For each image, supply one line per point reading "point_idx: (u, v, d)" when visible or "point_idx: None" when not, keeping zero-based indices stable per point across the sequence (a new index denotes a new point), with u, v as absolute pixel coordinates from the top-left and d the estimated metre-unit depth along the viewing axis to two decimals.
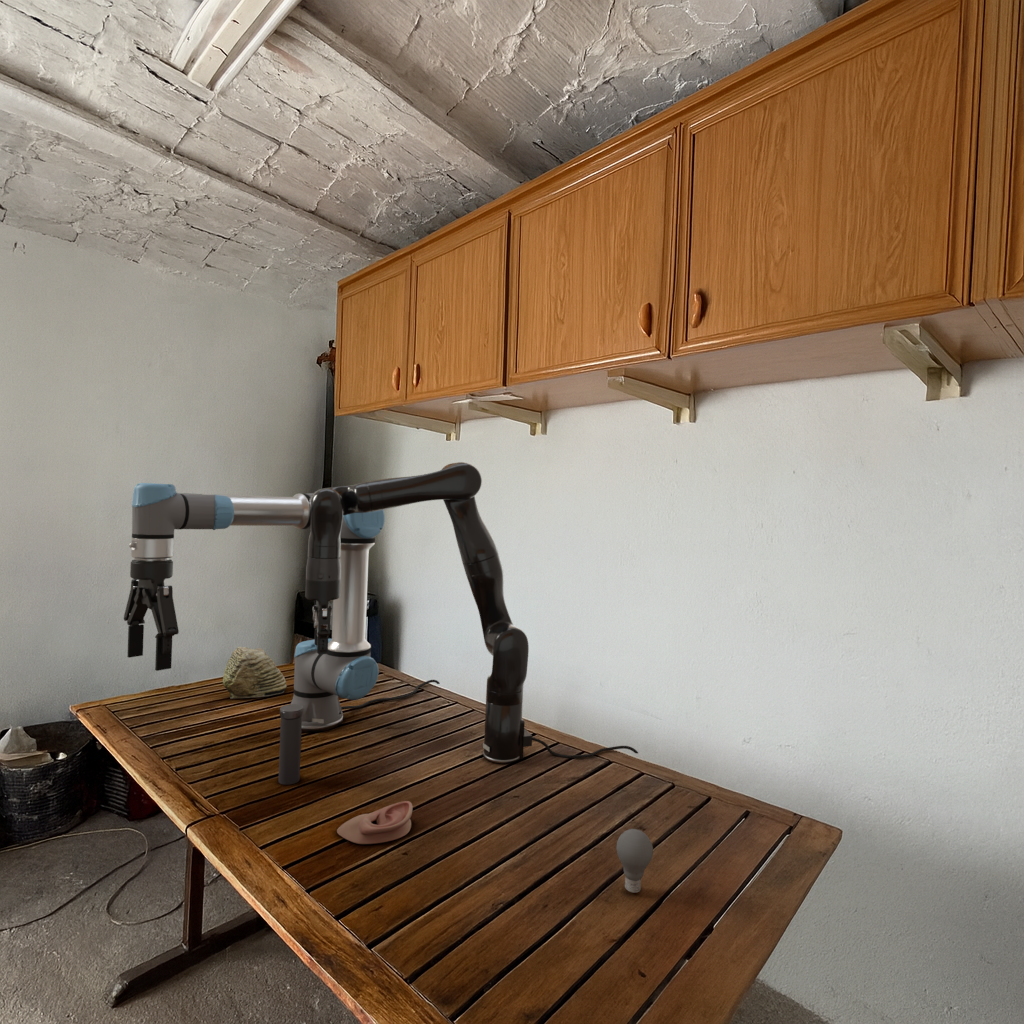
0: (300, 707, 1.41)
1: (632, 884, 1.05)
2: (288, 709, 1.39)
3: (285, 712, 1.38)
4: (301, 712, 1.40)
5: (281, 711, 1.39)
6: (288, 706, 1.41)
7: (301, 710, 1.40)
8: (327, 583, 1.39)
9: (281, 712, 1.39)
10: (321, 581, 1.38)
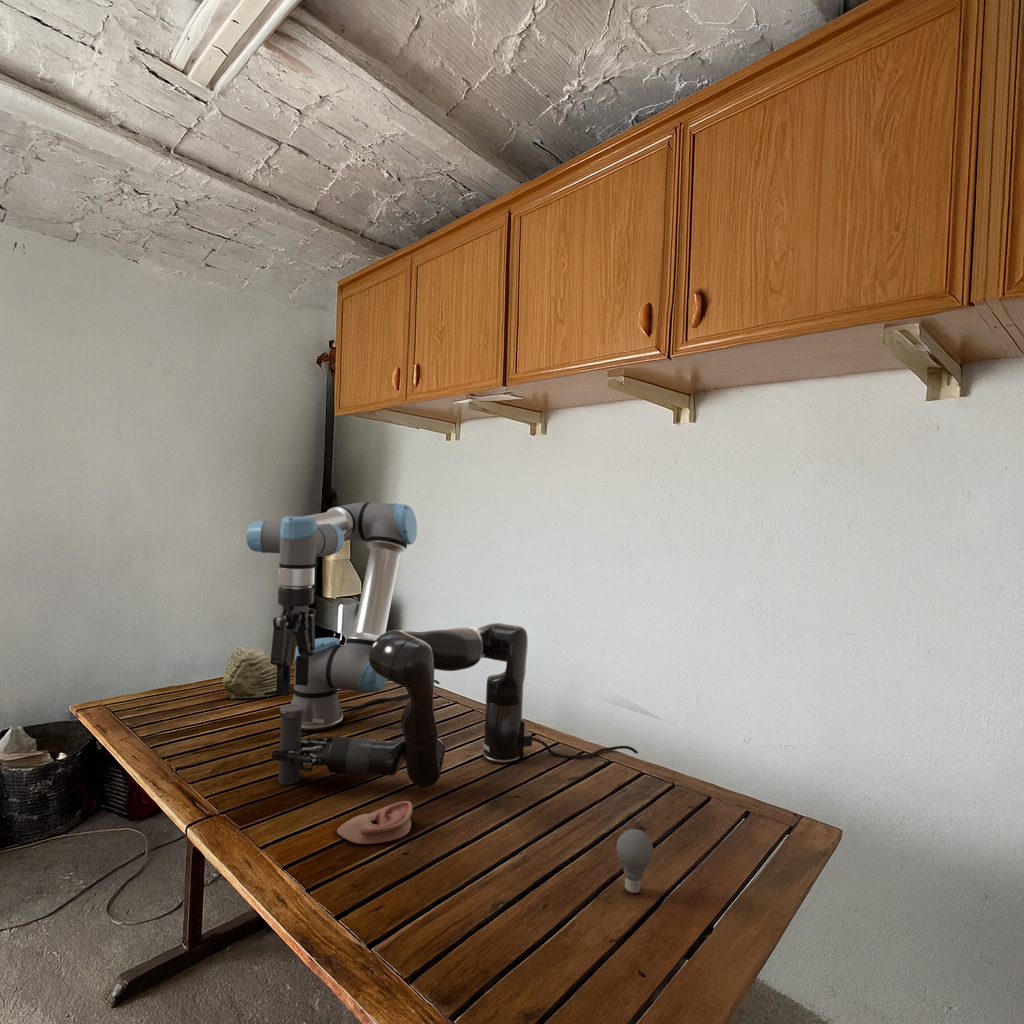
0: (300, 707, 1.41)
1: (632, 884, 1.05)
2: (288, 709, 1.39)
3: (285, 712, 1.38)
4: (301, 712, 1.40)
5: (281, 711, 1.39)
6: (288, 706, 1.41)
7: (301, 710, 1.40)
8: None
9: (281, 712, 1.39)
10: None
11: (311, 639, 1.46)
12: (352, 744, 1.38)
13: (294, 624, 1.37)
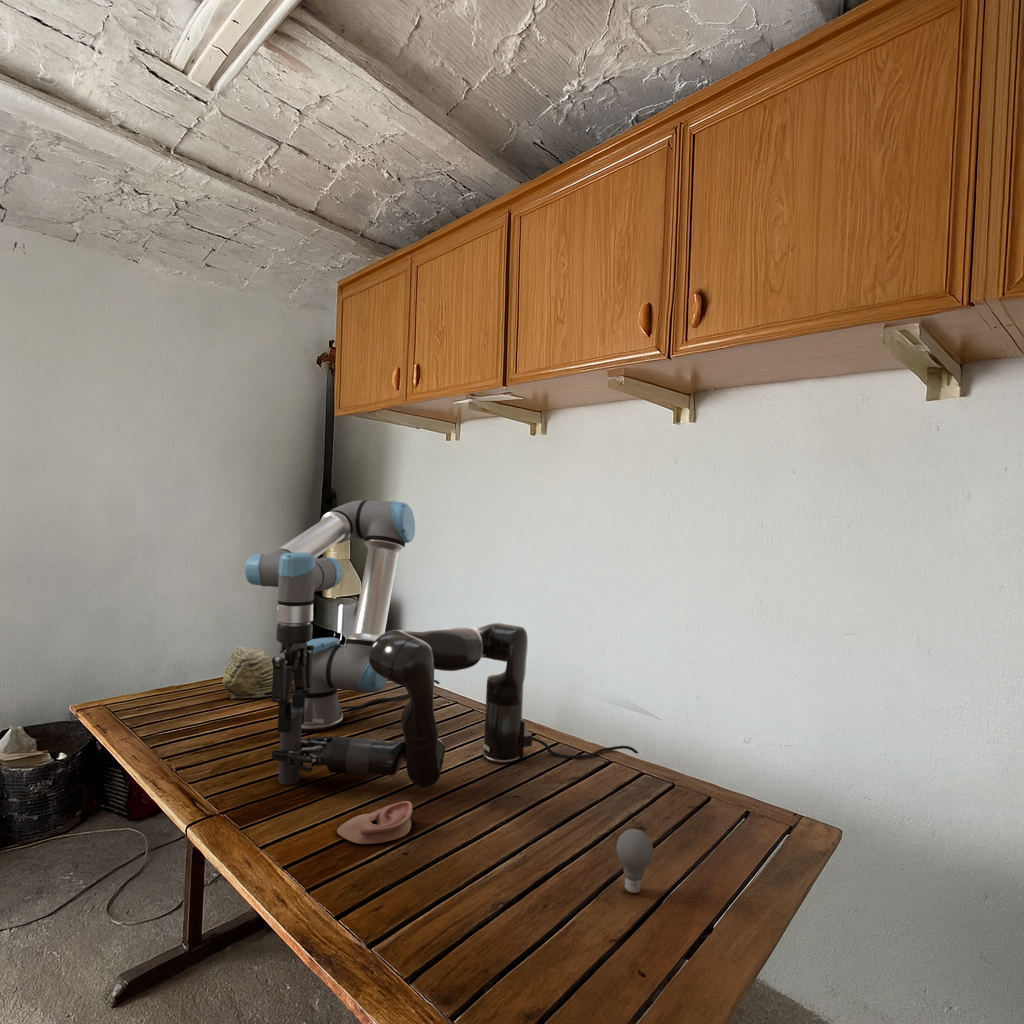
0: (300, 707, 1.41)
1: (632, 884, 1.05)
2: None
3: None
4: (301, 712, 1.40)
5: None
6: None
7: (301, 710, 1.40)
8: None
9: None
10: None
11: (308, 676, 1.45)
12: (352, 744, 1.38)
13: (293, 661, 1.38)
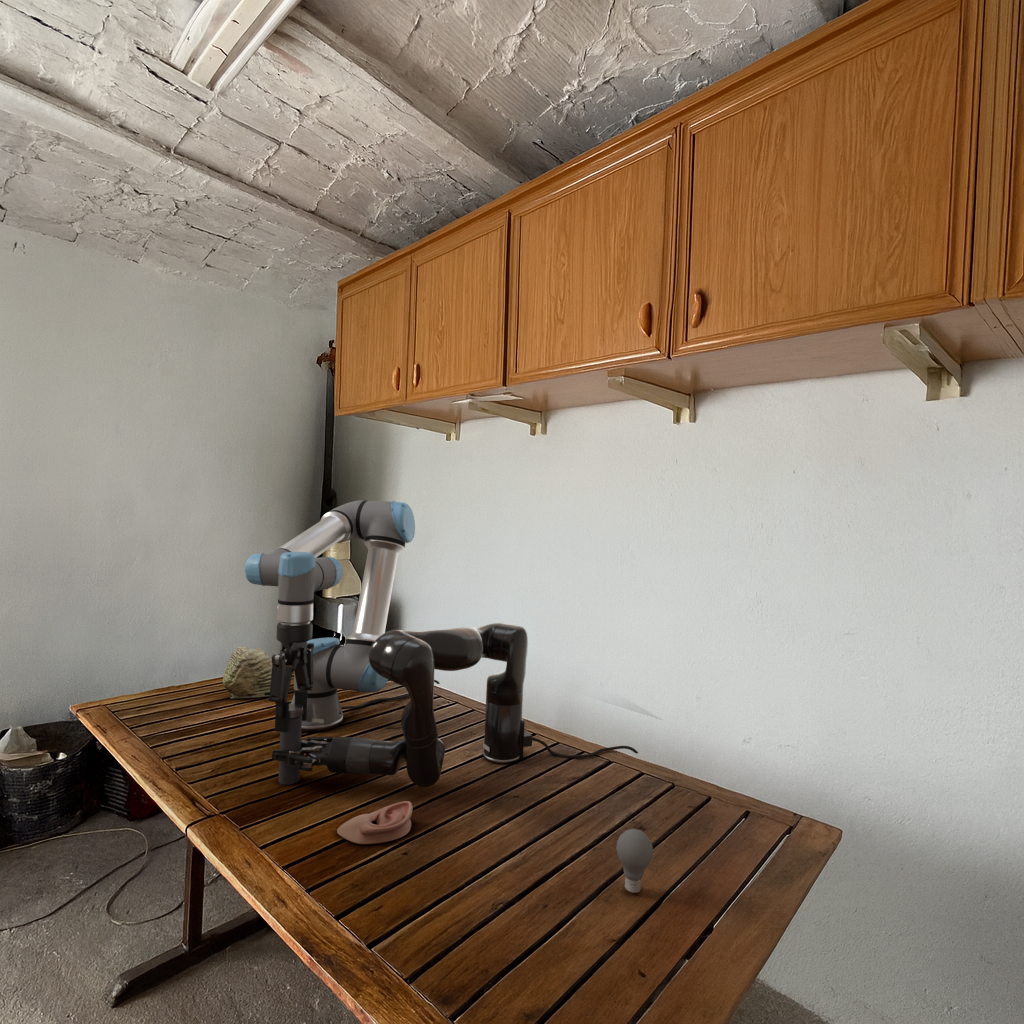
0: (296, 704, 1.42)
1: (632, 884, 1.05)
2: (294, 708, 1.40)
3: (295, 711, 1.39)
4: None
5: (290, 712, 1.38)
6: None
7: None
8: None
9: (290, 713, 1.38)
10: None
11: (310, 673, 1.46)
12: (352, 744, 1.38)
13: (293, 660, 1.38)
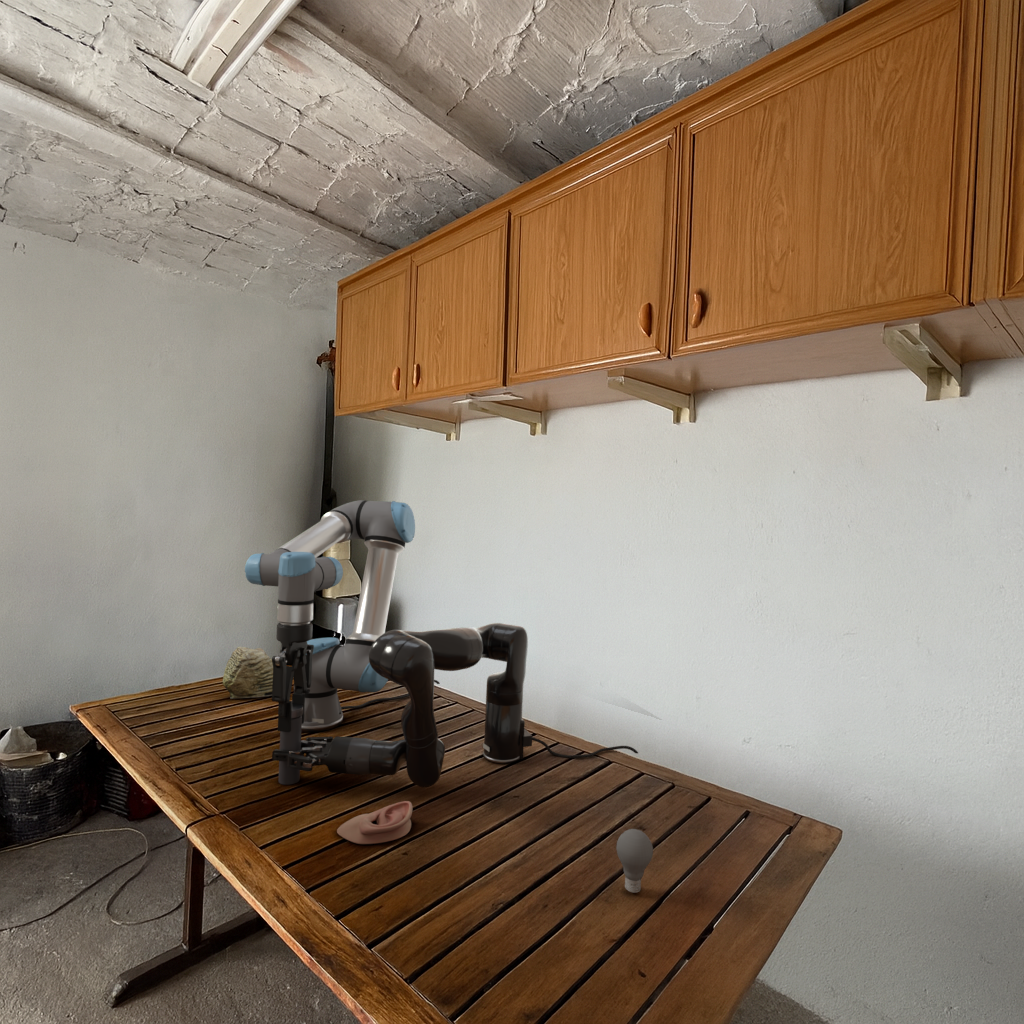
0: (296, 704, 1.42)
1: (632, 884, 1.05)
2: (294, 708, 1.40)
3: (295, 711, 1.39)
4: None
5: None
6: None
7: None
8: None
9: None
10: None
11: (308, 675, 1.45)
12: (352, 744, 1.38)
13: (293, 661, 1.38)
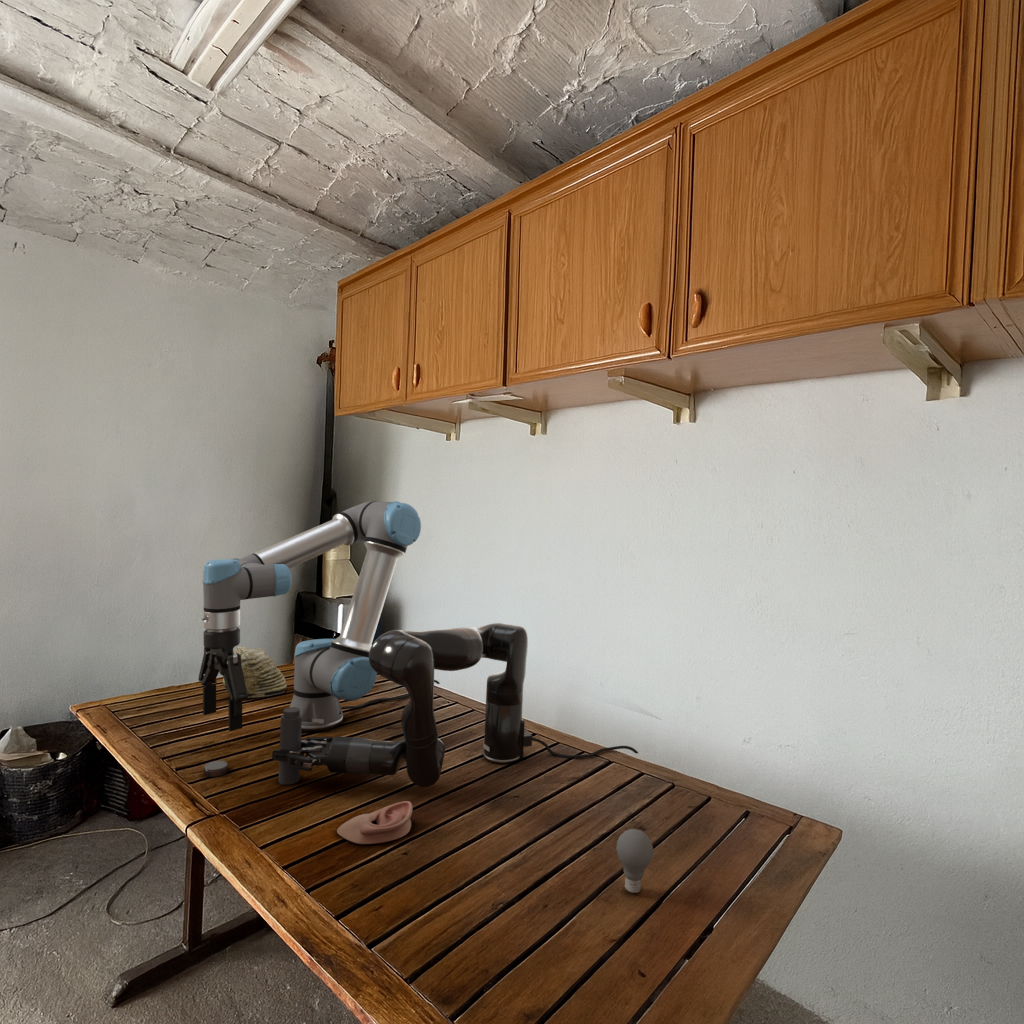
0: (213, 762, 1.44)
1: (632, 884, 1.05)
2: (221, 764, 1.43)
3: (226, 766, 1.43)
4: None
5: (224, 768, 1.42)
6: (212, 767, 1.42)
7: None
8: None
9: (224, 769, 1.42)
10: None
11: None
12: (352, 744, 1.38)
13: None
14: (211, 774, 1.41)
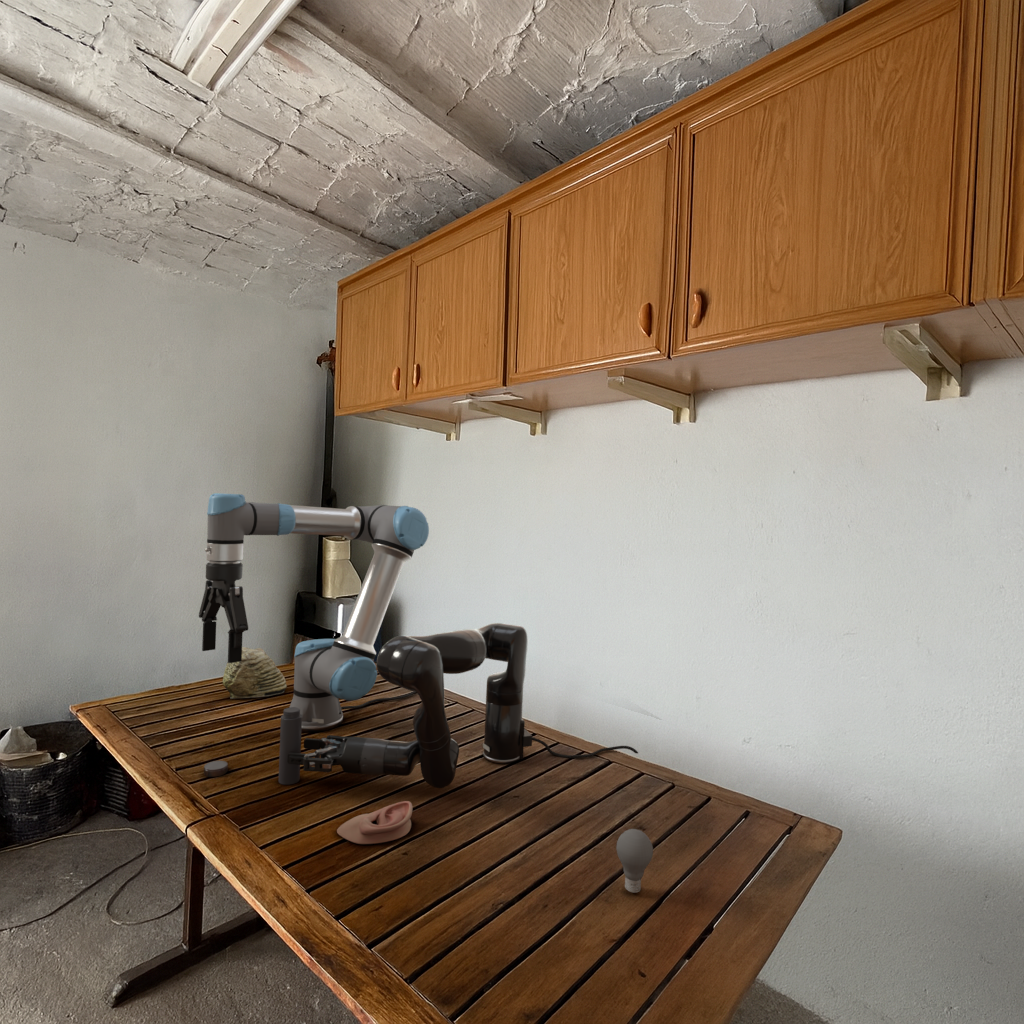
0: (213, 762, 1.44)
1: (632, 884, 1.05)
2: (221, 764, 1.43)
3: (226, 766, 1.43)
4: None
5: (224, 768, 1.42)
6: (212, 767, 1.42)
7: None
8: None
9: (224, 769, 1.42)
10: None
11: None
12: (367, 744, 1.38)
13: None
14: (211, 774, 1.41)
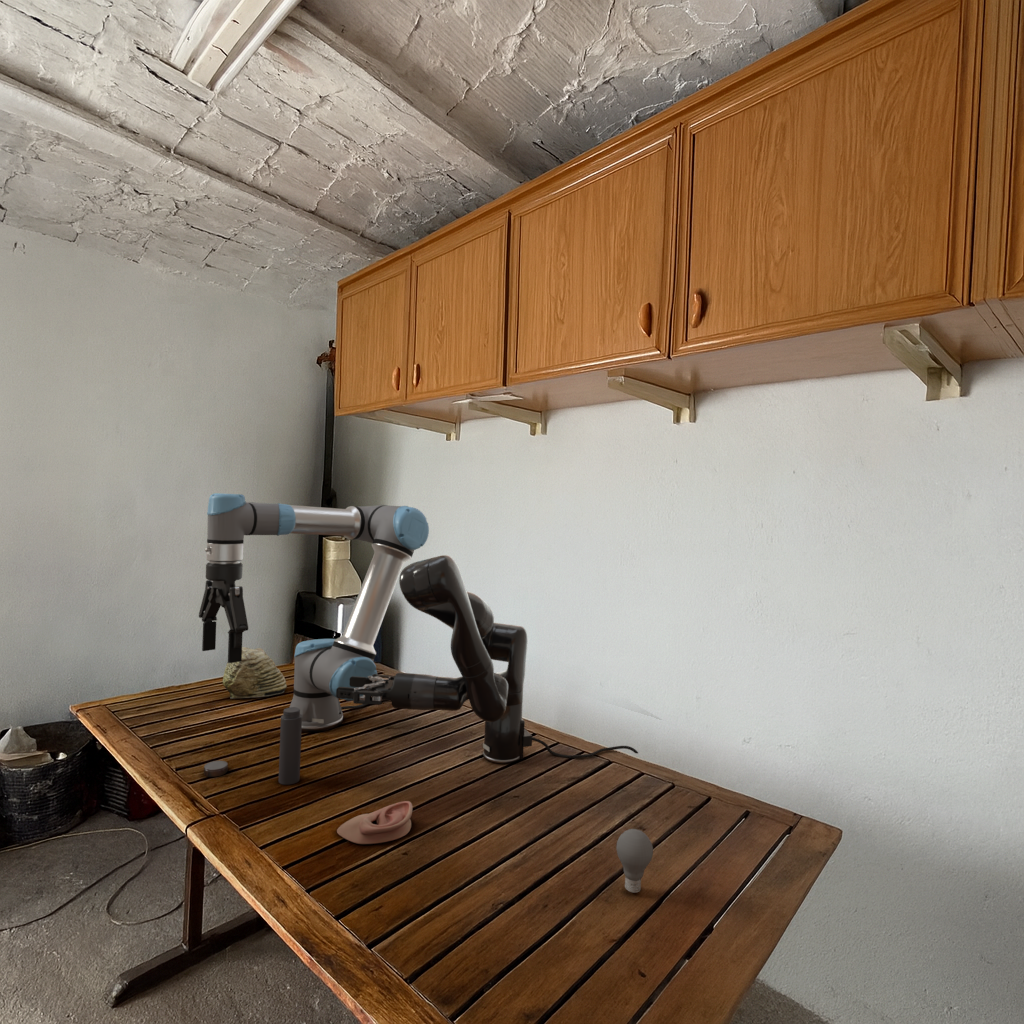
0: (213, 762, 1.44)
1: (632, 884, 1.05)
2: (221, 764, 1.43)
3: (226, 766, 1.43)
4: None
5: (224, 768, 1.42)
6: (212, 767, 1.42)
7: None
8: None
9: (224, 769, 1.42)
10: None
11: None
12: (416, 679, 1.36)
13: None
14: (211, 774, 1.41)
